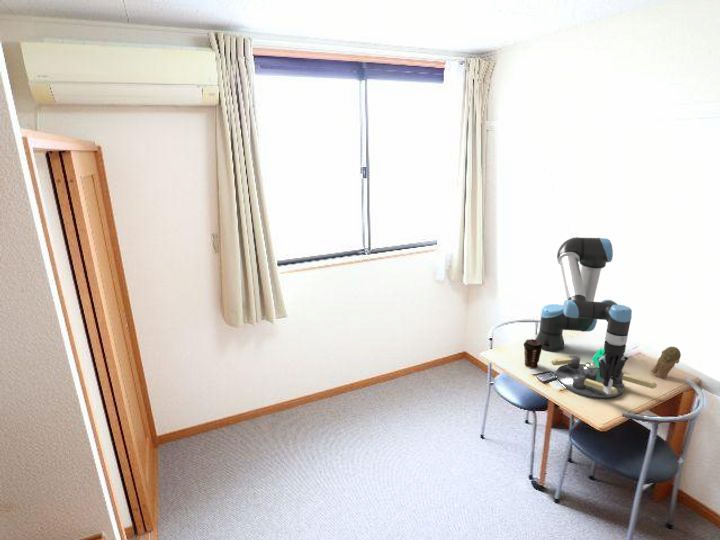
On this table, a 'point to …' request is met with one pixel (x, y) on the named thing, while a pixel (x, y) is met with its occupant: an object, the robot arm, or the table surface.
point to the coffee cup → (532, 353)
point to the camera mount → (598, 354)
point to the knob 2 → (634, 381)
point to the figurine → (666, 361)
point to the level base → (588, 390)
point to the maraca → (568, 361)
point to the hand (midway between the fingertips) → (606, 392)
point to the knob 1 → (589, 383)
